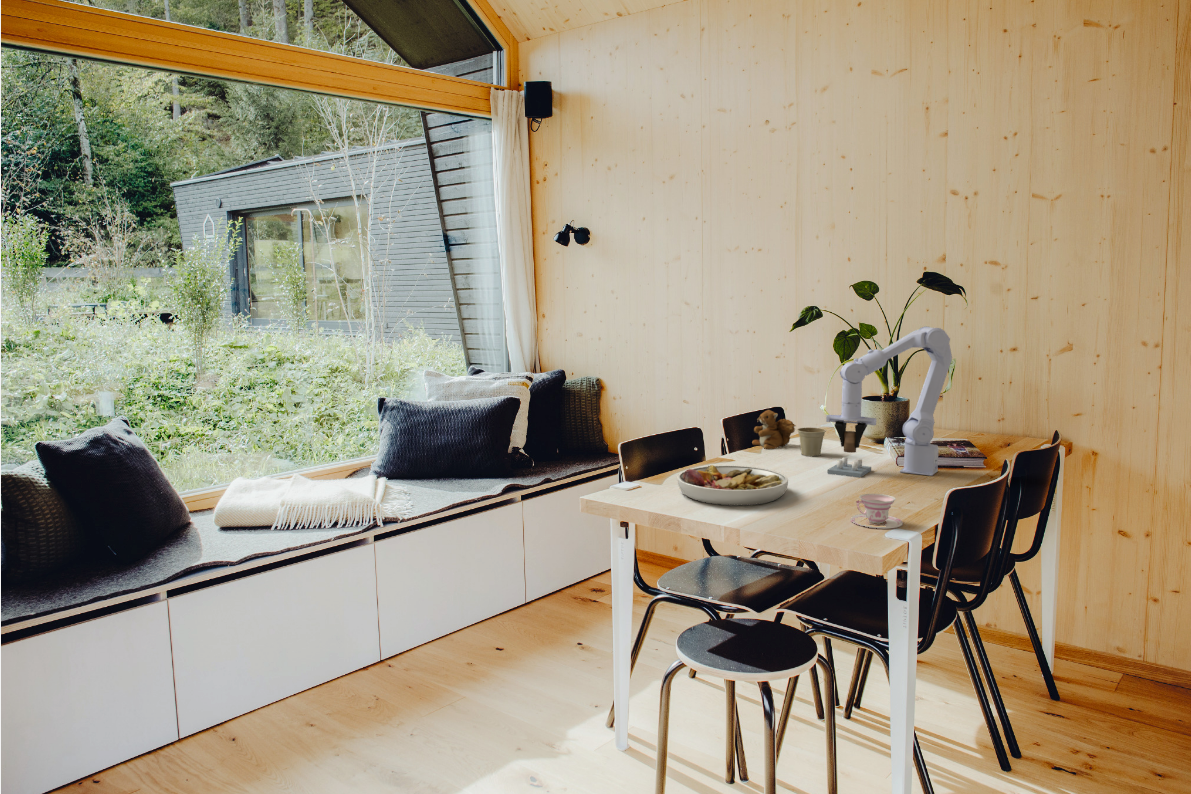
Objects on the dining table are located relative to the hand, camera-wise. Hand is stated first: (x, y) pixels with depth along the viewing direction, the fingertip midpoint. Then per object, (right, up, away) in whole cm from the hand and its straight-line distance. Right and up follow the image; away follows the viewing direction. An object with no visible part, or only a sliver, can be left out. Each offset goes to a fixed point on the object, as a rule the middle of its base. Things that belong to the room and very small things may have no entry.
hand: (850, 446), depth 251 cm
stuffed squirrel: (-14, -3, +43) cm, 45 cm away
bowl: (-40, -12, -23) cm, 48 cm away
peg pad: (0, -8, +1) cm, 8 cm away
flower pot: (-5, -5, +27) cm, 28 cm away
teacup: (-10, -15, -52) cm, 55 cm away
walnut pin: (0, -1, 0) cm, 1 cm away
